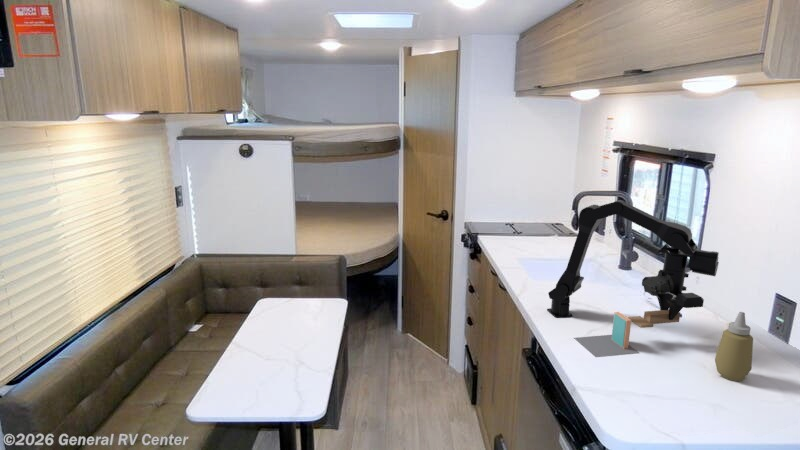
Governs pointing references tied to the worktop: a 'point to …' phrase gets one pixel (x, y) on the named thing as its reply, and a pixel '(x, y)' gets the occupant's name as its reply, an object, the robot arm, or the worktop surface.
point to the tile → (621, 330)
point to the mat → (604, 346)
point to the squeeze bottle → (735, 350)
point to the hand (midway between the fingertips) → (667, 317)
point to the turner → (653, 318)
